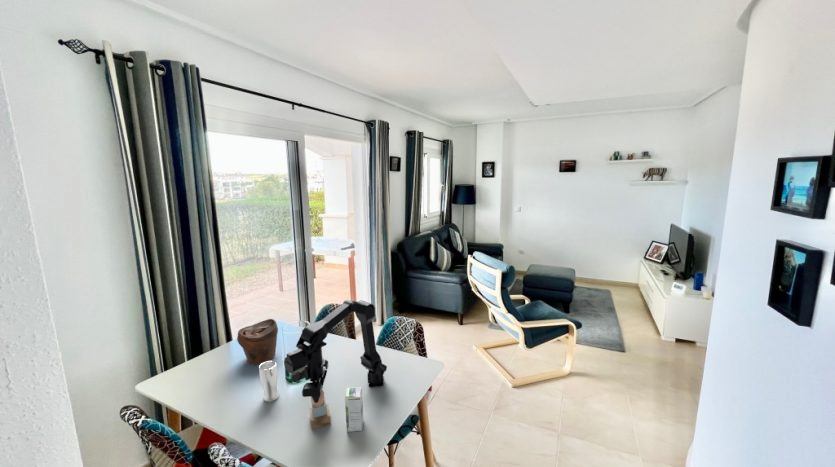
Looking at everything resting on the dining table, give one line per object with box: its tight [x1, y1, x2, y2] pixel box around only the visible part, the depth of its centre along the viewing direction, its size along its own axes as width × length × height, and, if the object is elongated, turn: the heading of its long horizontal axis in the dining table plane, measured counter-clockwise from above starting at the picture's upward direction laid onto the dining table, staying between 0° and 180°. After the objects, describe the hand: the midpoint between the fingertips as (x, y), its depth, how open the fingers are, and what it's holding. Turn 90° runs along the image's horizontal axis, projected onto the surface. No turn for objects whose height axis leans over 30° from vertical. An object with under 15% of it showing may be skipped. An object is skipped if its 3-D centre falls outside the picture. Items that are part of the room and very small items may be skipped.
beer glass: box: [258, 360, 280, 403], centre depth 147 cm, size 7×7×15 cm
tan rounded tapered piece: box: [310, 389, 326, 407], centre depth 132 cm, size 5×5×4 cm
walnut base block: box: [309, 403, 332, 430], centre depth 134 cm, size 7×7×4 cm
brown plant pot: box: [236, 318, 279, 365], centre depth 176 cm, size 18×20×18 cm
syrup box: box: [344, 386, 364, 433], centre depth 130 cm, size 6×6×14 cm
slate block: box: [311, 396, 327, 418], centre depth 133 cm, size 5×5×4 cm
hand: (317, 396), depth 132 cm, fingers open, 6 cm apart
